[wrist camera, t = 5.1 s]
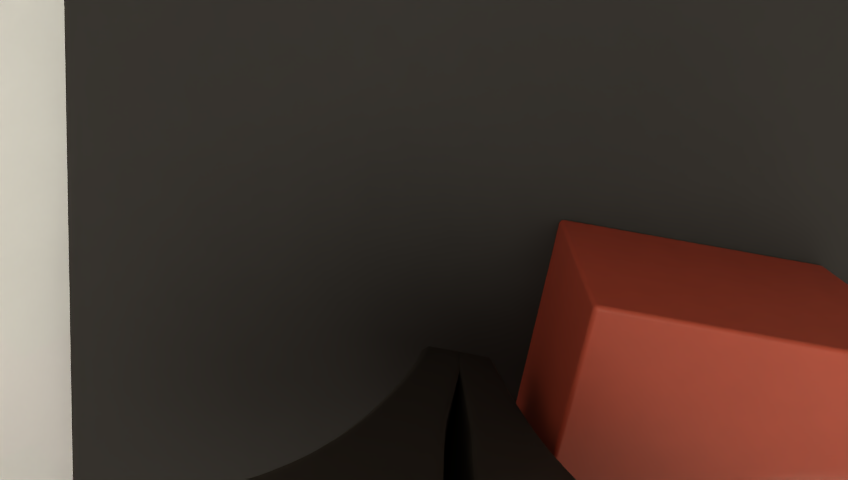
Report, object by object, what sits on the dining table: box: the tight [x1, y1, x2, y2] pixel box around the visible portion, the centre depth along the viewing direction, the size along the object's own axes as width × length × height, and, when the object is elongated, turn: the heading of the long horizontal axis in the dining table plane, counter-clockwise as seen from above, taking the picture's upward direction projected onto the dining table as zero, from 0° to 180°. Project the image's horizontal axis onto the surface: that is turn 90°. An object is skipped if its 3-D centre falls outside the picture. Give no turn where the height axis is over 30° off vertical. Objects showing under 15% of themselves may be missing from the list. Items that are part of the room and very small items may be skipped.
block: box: [516, 220, 848, 480], centre depth 12 cm, size 7×5×4 cm
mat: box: [64, 0, 848, 480], centre depth 14 cm, size 18×26×1 cm
